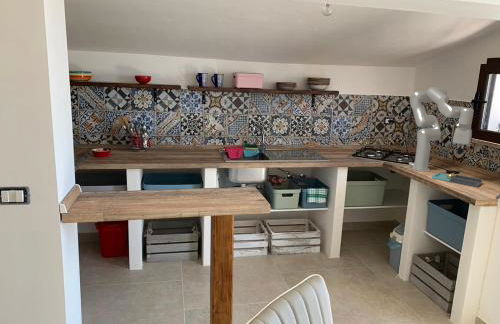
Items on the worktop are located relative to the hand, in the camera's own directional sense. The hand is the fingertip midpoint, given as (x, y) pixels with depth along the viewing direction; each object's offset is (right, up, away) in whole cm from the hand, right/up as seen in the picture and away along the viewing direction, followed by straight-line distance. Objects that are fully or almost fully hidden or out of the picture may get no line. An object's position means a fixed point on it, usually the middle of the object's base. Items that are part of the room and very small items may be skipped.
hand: (459, 153), depth 255 cm
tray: (-6, -17, +9) cm, 20 cm away
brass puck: (-3, -16, +5) cm, 17 cm away
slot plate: (+4, -19, 0) cm, 20 cm away
